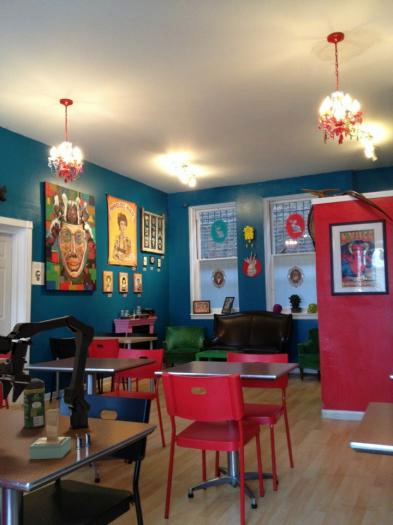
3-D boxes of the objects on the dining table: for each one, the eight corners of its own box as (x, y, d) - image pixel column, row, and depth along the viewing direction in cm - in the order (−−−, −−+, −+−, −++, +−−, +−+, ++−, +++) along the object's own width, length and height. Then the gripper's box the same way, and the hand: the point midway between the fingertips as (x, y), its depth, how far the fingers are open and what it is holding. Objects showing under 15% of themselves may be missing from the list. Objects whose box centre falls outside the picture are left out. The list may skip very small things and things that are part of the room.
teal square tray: (40, 449, 159) (40, 437, 160) (70, 448, 159) (70, 436, 159) (29, 459, 149) (29, 446, 150) (61, 457, 149) (61, 445, 150)
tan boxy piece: (43, 441, 158) (43, 409, 159) (65, 440, 158) (64, 408, 159) (35, 447, 151) (35, 414, 152) (58, 446, 151) (58, 413, 152)
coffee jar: (22, 424, 197) (22, 378, 199) (42, 422, 201) (42, 376, 203) (25, 429, 189) (25, 381, 191) (46, 426, 192) (46, 379, 194)
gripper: (-13, 353, 179) (-23, 396, 175) (5, 355, 165) (-5, 402, 161) (16, 356, 186) (8, 398, 182) (36, 359, 172) (27, 404, 168)
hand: (8, 400), depth 173 cm, fingers open, 9 cm apart
